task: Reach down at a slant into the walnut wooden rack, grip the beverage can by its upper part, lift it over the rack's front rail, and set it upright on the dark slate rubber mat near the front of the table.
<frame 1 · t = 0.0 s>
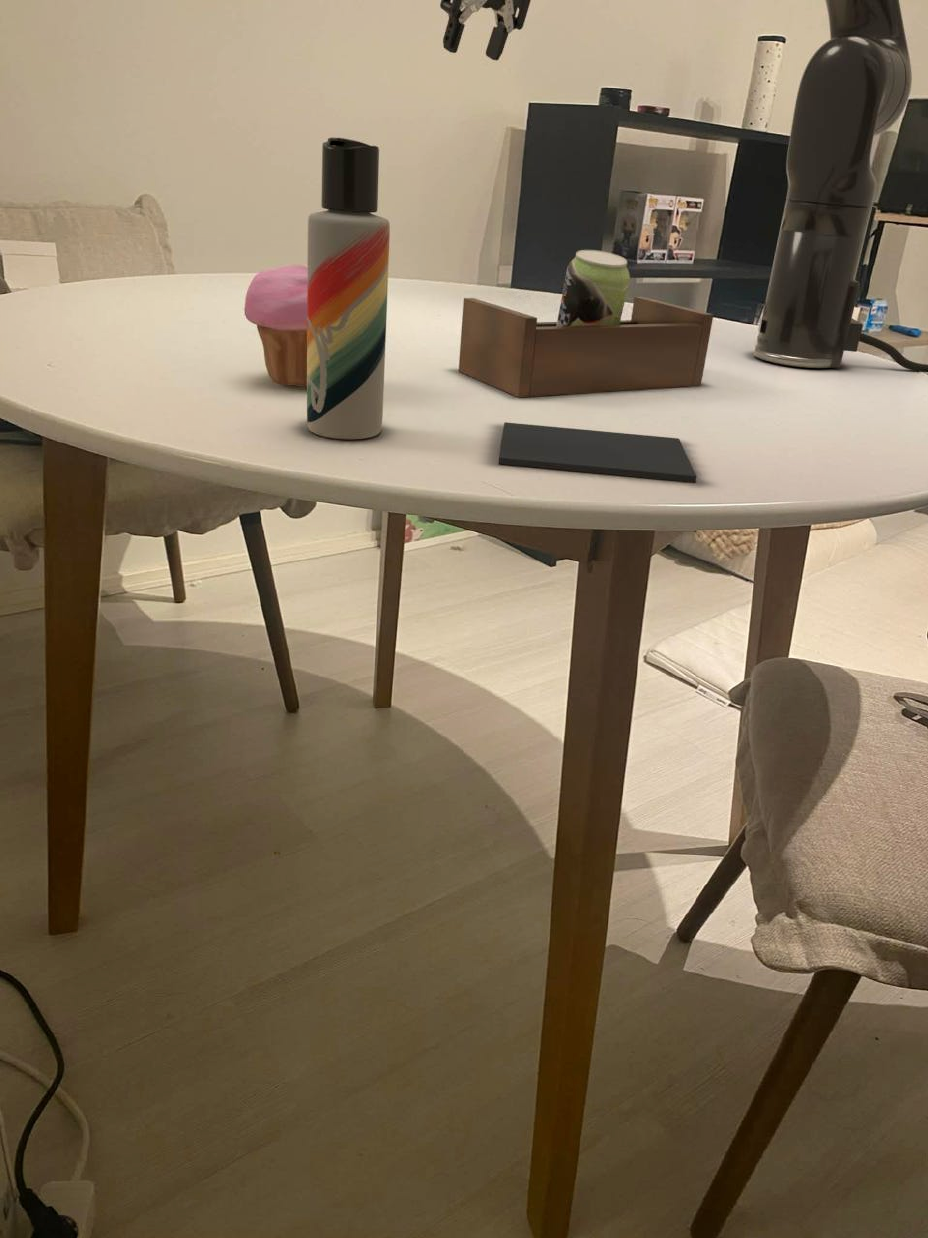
hand: (470, 54, 137), 31 cm above the table, tool tilted 20°, fingers open, 8 cm apart
lotion bottle: (344, 432, 75), on the table
cupcake: (295, 384, 88), on the table
rack: (581, 378, 98), on the table
mat: (593, 453, 74), on the table
beverage can: (581, 380, 98), resting in rack
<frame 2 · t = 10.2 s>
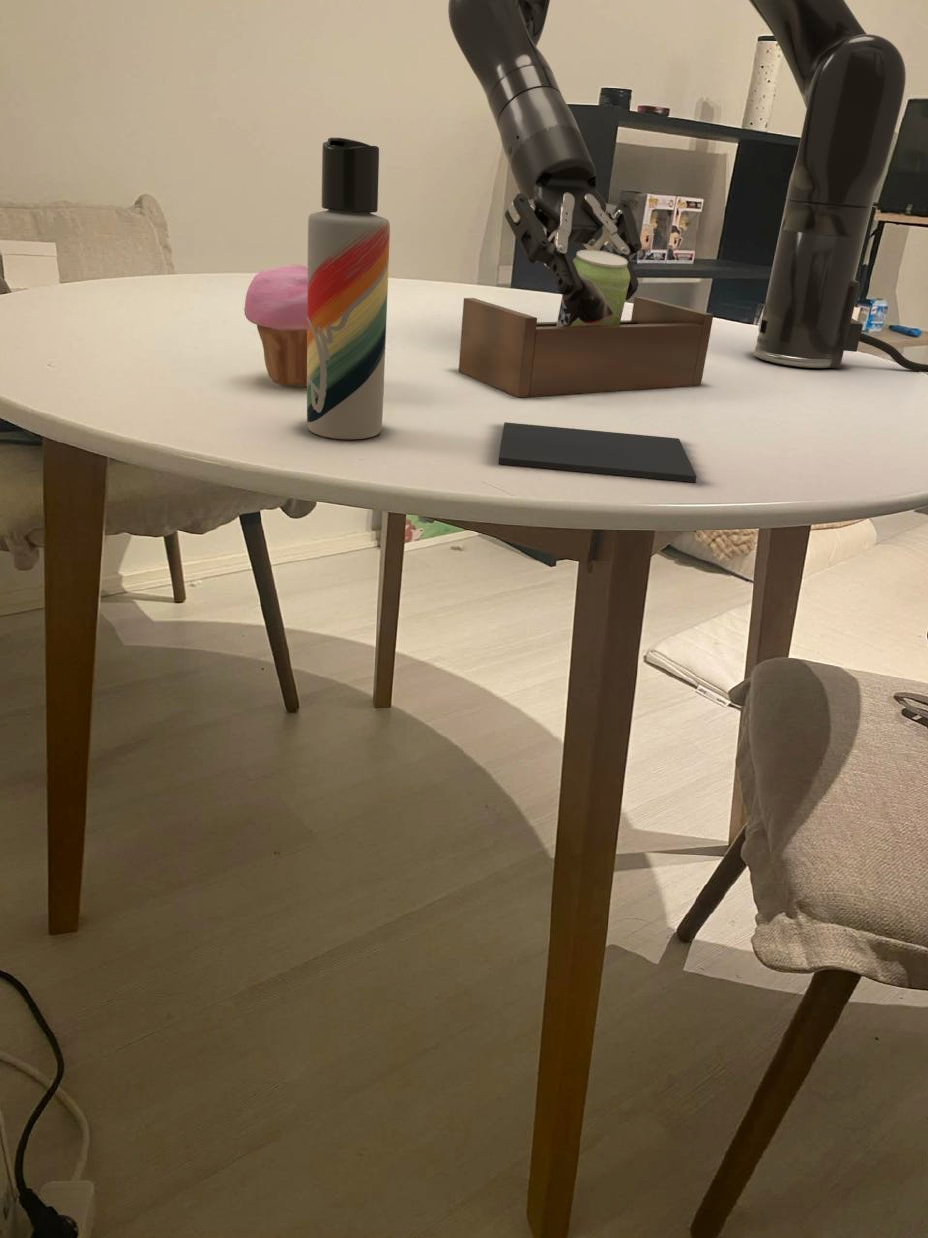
hand: (602, 294, 93), 8 cm above the table, tool tilted 45°, fingers closed on beverage can, 6 cm apart
beverage can: (581, 380, 98), resting in rack, touching gripper
everything else where it was.
when the fingers open (9 cm above the table, at t = 20.0 s): beverage can stays where it is, resting on mat.
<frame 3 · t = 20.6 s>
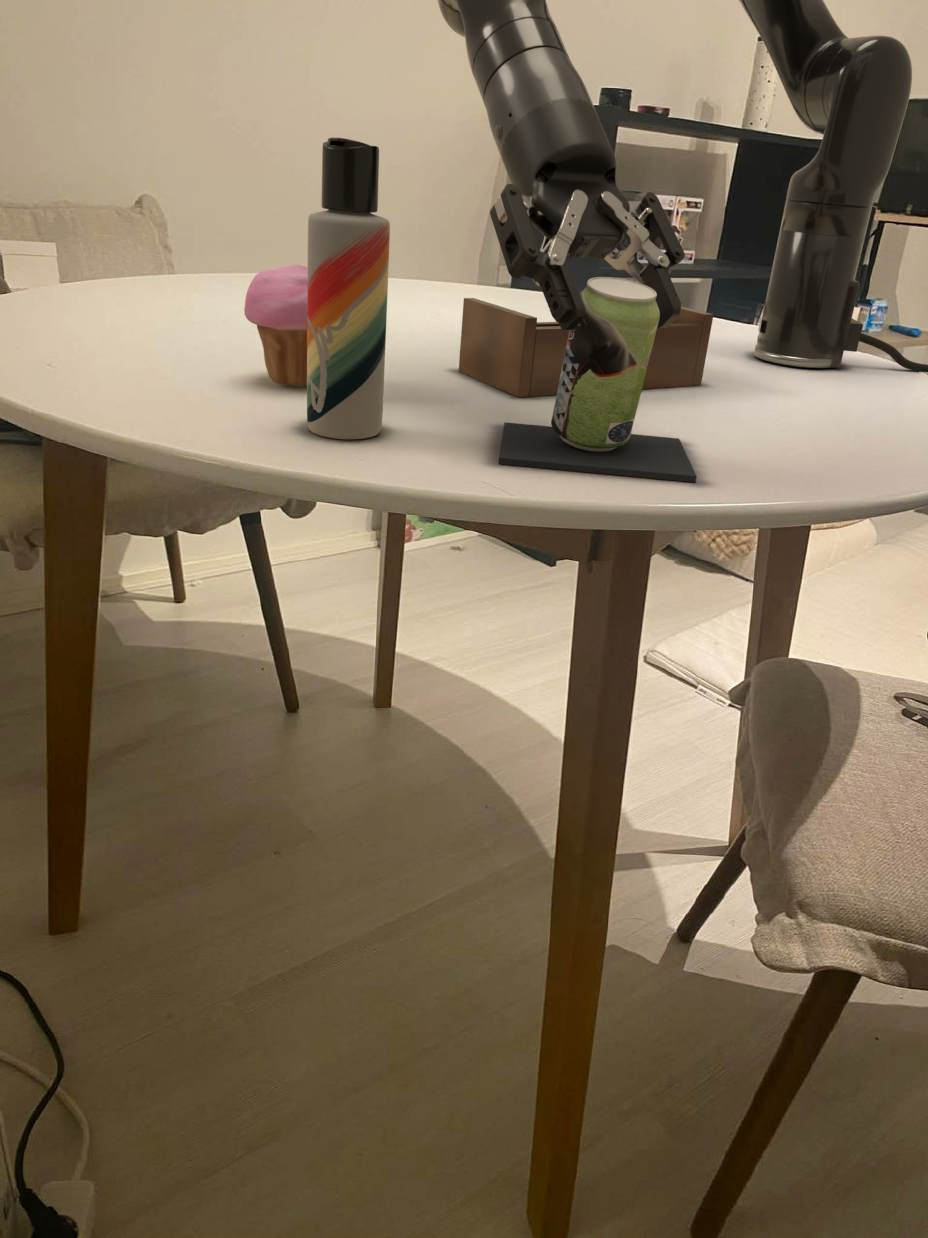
hand: (623, 322, 69), 10 cm above the table, tool tilted 45°, fingers open, 8 cm apart
beverage can: (592, 449, 74), resting on mat
everything else where it was.
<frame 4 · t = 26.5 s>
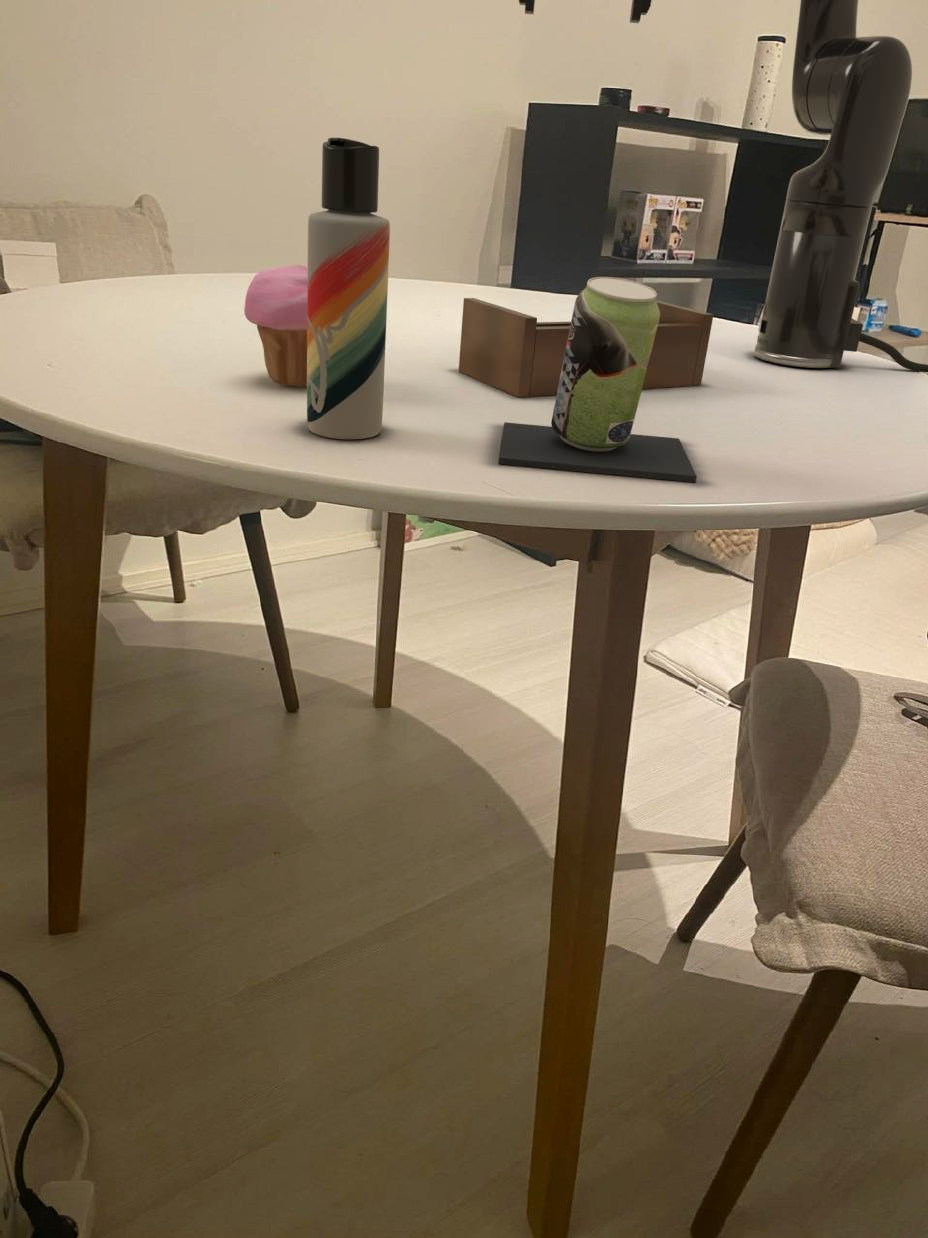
hand: (582, 17, 79), 30 cm above the table, tool pointing down, fingers open, 8 cm apart
nothing on the table moved.
at the end: beverage can inside the target area on the mat (0.2 cm from its centre), point 0.3 cm above the mat's base; beverage can tilted 0°; the gripper is holding nothing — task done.
